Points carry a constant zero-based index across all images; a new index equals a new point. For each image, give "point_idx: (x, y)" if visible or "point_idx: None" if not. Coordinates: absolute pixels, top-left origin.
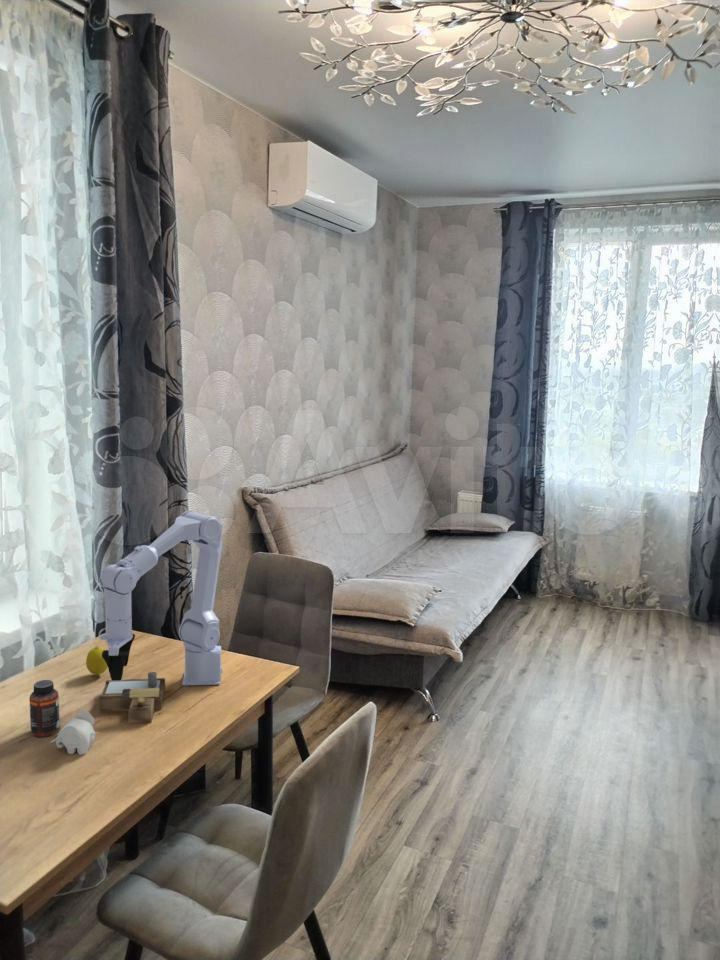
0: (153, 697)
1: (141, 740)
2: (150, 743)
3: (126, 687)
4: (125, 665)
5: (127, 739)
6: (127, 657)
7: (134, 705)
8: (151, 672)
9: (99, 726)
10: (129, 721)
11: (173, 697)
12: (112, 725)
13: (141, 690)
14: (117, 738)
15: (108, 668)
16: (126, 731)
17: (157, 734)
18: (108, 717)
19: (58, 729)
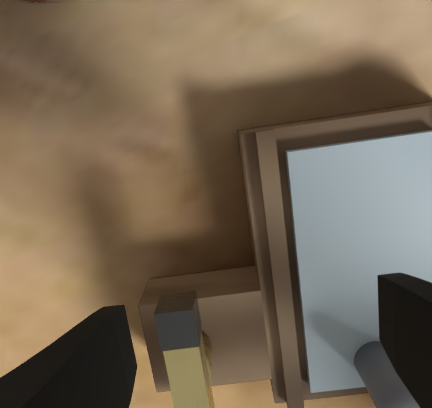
0: (277, 374)
1: (34, 353)
2: None
3: (362, 242)
4: (381, 336)
5: (32, 306)
6: (421, 404)
7: None
8: None
9: (112, 172)
10: (148, 285)
11: None
12: (127, 222)
13: (185, 405)
14: (32, 270)
15: (20, 366)
16: (88, 287)
17: None
18: (192, 185)
19: (33, 1)
